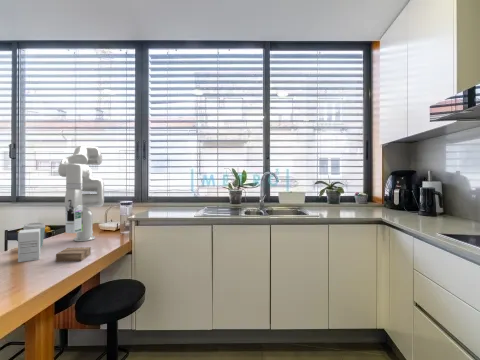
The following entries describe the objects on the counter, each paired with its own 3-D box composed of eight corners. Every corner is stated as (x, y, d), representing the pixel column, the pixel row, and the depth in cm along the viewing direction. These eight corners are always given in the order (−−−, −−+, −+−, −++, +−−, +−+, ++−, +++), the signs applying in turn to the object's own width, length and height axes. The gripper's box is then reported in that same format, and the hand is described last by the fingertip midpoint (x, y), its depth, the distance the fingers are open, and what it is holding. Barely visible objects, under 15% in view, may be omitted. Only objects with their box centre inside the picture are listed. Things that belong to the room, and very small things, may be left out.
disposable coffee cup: (49, 247, 163) (49, 223, 163) (29, 252, 153) (29, 226, 153) (39, 245, 167) (39, 221, 167) (19, 249, 158) (19, 224, 157)
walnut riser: (67, 254, 149) (67, 247, 149) (90, 254, 151) (90, 247, 151) (55, 261, 137) (56, 254, 137) (81, 261, 139) (81, 253, 139)
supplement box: (19, 257, 143) (19, 229, 143) (40, 255, 148) (40, 228, 148) (17, 262, 135) (17, 233, 135) (39, 259, 140) (39, 231, 140)
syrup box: (74, 233, 140) (74, 206, 140) (65, 233, 142) (65, 205, 141) (83, 231, 146) (83, 204, 146) (73, 230, 147) (73, 204, 147)
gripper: (74, 186, 152) (74, 217, 152) (58, 187, 134) (58, 222, 135) (88, 186, 153) (88, 217, 153) (74, 187, 135) (74, 222, 136)
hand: (74, 219), depth 144 cm, fingers closed on syrup box, 7 cm apart
